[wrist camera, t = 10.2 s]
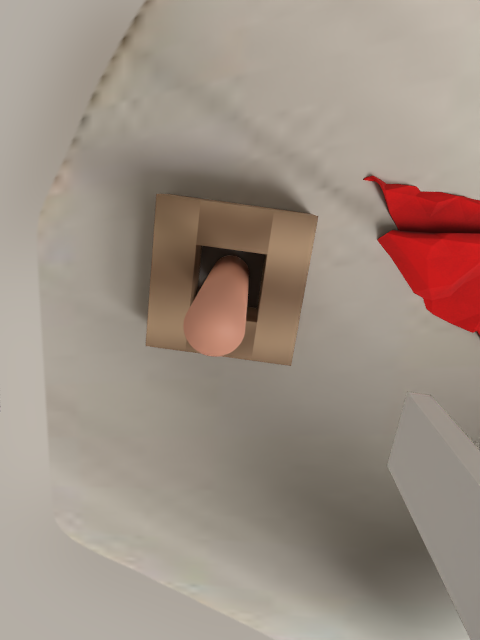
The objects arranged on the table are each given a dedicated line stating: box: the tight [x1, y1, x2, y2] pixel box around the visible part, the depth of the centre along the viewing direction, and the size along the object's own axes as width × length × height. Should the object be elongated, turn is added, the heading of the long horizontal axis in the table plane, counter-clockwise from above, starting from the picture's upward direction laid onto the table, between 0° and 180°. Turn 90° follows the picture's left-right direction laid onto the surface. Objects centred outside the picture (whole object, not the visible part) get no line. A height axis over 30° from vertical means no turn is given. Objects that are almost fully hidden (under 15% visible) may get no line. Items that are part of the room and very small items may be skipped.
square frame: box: [146, 194, 318, 366], centre depth 32 cm, size 11×11×4 cm
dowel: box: [183, 255, 249, 356], centre depth 27 cm, size 3×3×14 cm
